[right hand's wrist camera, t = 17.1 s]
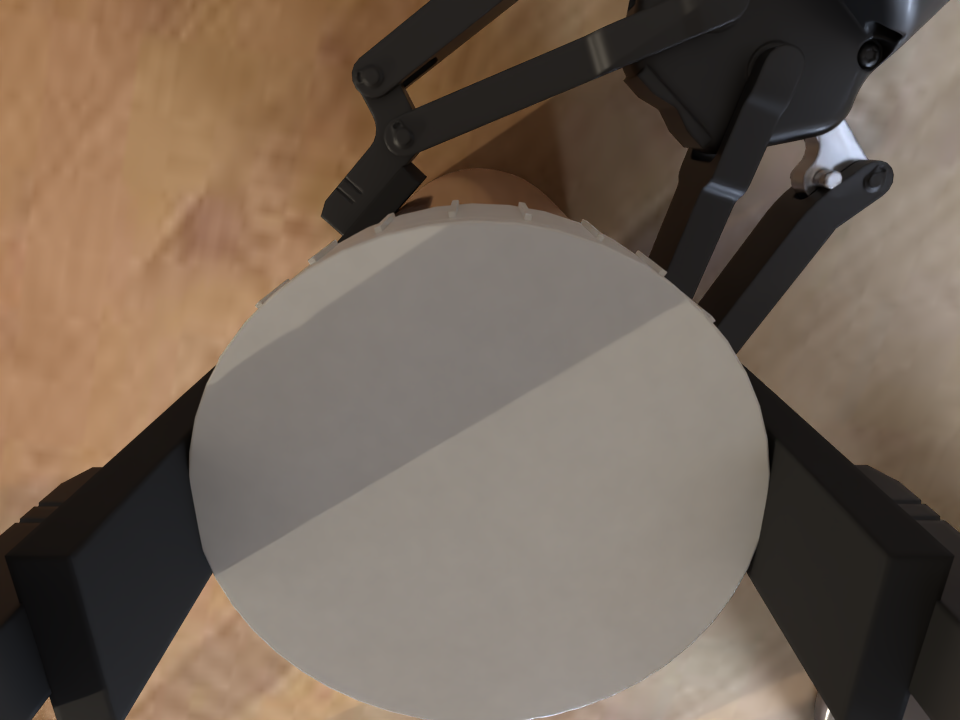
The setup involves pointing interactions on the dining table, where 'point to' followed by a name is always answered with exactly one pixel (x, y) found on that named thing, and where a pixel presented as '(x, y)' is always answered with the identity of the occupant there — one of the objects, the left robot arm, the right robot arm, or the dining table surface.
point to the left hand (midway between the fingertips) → (396, 390)
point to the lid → (479, 466)
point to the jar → (479, 191)
